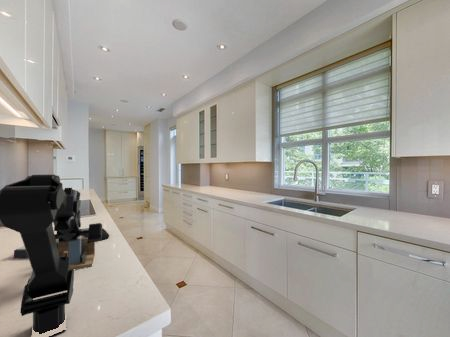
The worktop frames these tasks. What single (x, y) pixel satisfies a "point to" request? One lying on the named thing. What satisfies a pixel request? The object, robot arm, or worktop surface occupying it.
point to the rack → (86, 253)
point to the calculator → (21, 252)
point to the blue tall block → (74, 251)
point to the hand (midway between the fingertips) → (73, 246)
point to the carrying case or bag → (104, 235)
